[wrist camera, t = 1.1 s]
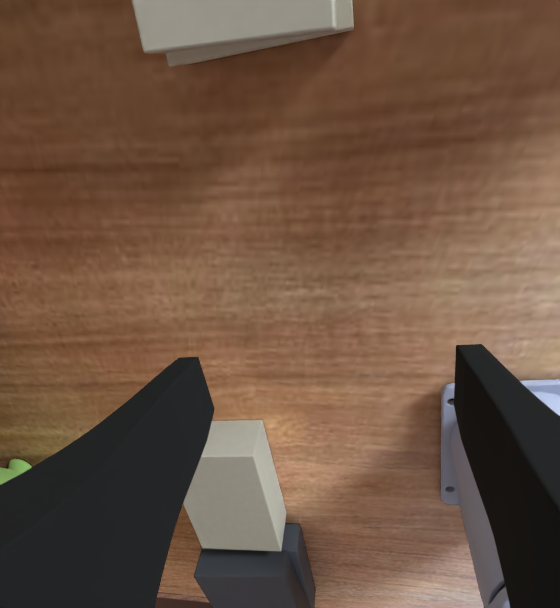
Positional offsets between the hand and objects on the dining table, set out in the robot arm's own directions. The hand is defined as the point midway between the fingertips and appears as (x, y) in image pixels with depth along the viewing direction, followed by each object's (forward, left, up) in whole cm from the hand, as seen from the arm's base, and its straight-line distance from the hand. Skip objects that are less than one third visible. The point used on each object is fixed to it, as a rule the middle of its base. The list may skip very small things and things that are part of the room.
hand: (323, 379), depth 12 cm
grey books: (-25, +8, -9) cm, 28 cm away
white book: (-15, +8, -9) cm, 19 cm away
